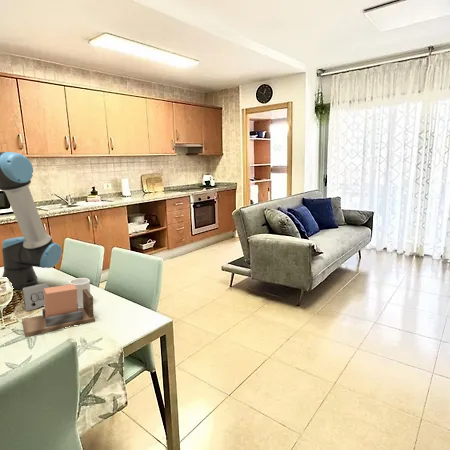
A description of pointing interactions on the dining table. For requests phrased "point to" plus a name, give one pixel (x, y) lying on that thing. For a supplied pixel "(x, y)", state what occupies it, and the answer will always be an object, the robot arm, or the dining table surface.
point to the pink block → (60, 300)
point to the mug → (80, 288)
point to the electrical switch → (34, 296)
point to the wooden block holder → (60, 318)
